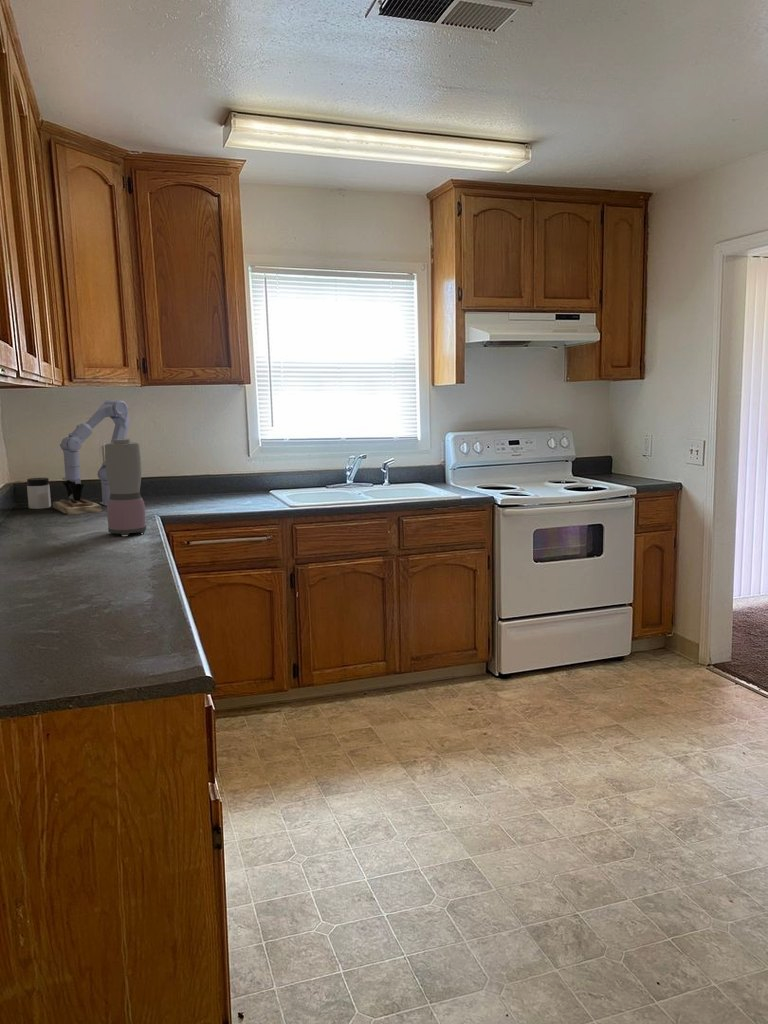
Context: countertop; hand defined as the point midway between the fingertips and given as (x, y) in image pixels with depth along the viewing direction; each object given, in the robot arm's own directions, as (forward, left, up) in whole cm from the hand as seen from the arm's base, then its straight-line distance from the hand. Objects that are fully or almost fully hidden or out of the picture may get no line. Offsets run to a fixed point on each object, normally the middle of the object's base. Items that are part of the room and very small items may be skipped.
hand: (74, 499), depth 307 cm
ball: (0, -1, +1) cm, 1 cm away
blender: (+1, +65, -4) cm, 65 cm away
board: (0, +3, -4) cm, 5 cm away
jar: (+10, -13, -4) cm, 17 cm away
